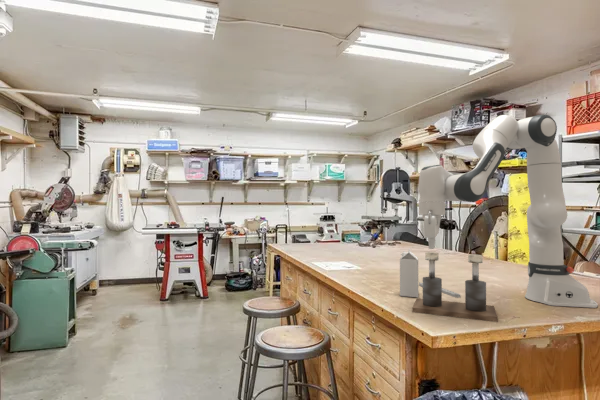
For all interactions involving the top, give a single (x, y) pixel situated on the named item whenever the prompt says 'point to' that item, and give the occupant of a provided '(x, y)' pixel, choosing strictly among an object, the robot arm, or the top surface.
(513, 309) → the top surface
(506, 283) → the top surface
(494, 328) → the top surface
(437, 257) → the plunger
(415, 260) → the milk carton
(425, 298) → the press block
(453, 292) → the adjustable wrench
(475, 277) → the plunger
